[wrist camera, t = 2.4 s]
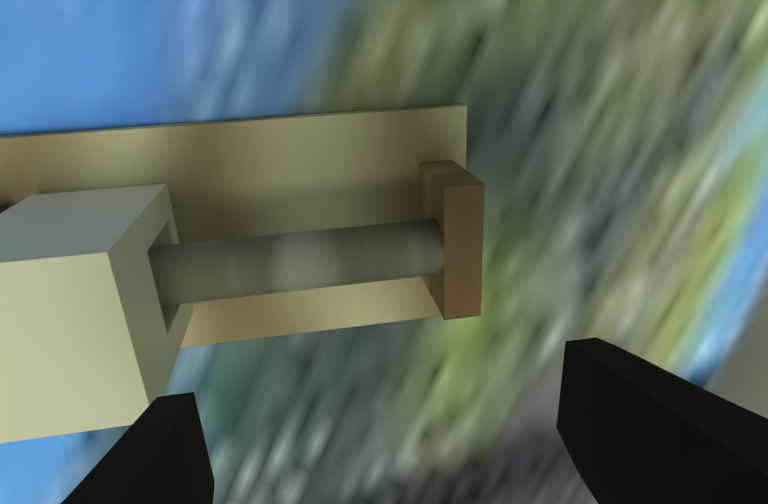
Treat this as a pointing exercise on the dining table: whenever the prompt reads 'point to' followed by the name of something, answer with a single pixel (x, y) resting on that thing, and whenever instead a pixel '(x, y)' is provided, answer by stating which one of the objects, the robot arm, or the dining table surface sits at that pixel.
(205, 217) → the pipe stand
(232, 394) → the dining table surface
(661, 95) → the dining table surface
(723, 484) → the robot arm
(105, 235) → the pale sage cube
